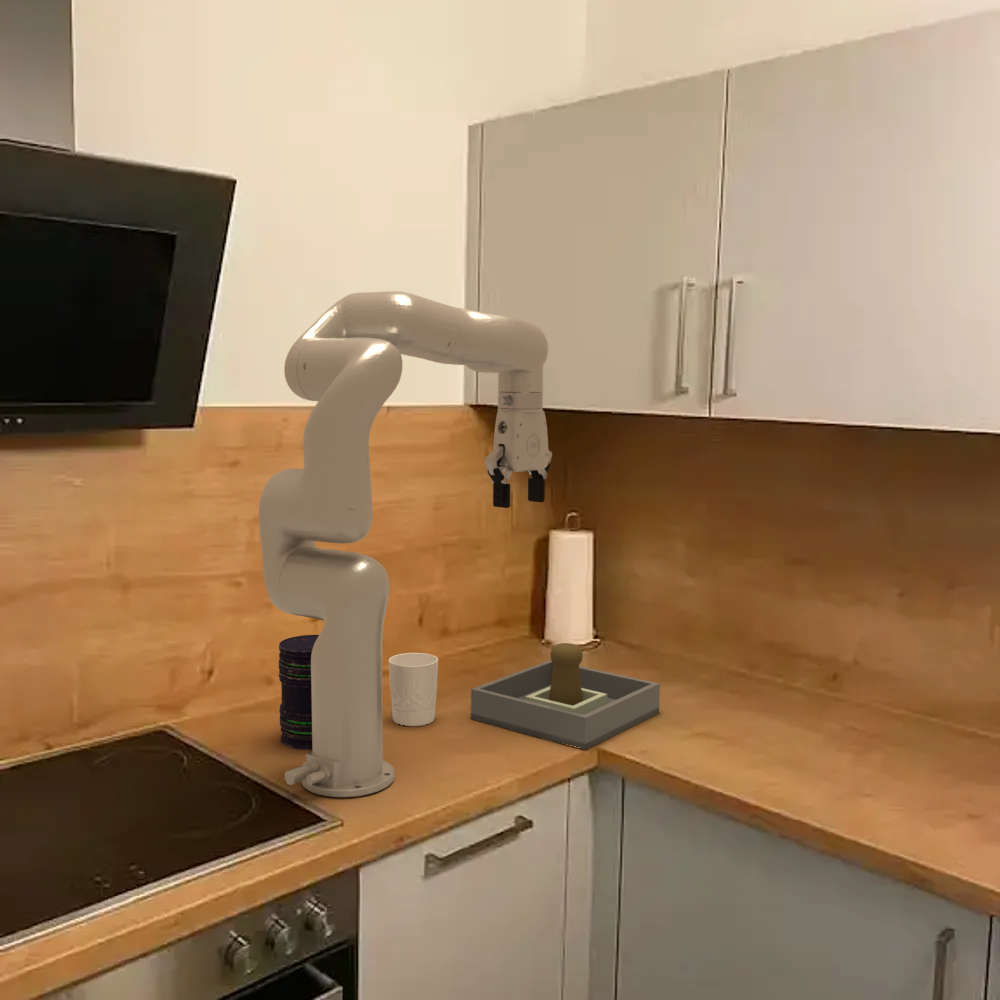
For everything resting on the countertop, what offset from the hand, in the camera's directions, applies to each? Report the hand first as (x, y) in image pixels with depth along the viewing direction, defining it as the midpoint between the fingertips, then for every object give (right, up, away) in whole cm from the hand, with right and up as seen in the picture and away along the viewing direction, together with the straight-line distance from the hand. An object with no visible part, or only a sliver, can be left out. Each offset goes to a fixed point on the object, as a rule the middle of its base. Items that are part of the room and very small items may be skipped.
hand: (519, 504), depth 177 cm
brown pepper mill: (+7, -34, -7) cm, 35 cm away
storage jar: (-32, -36, -18) cm, 51 cm away
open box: (+8, -35, -7) cm, 36 cm away
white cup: (-17, -35, -9) cm, 40 cm away
